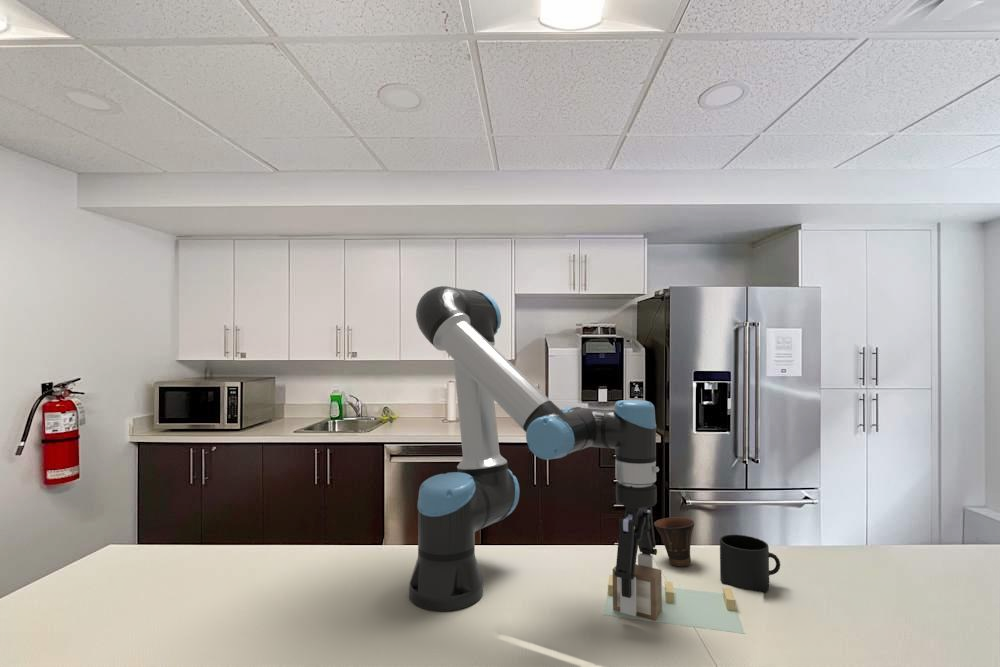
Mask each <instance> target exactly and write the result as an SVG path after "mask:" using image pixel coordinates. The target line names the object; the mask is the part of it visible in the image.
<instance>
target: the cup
mask: <svg viewBox="0 0 1000 667" xmlns="http://www.w3.org/2000/svg"><path fill="white" fill-rule="evenodd" d="M653 526H654V527H655V529H656V530H657V532H658V533H659V537H660V538H661V540H662V543H663V545H664V548H665V551H666V553H667V556H668V562H669V564H670V565H671V566H673V567H674V566H675V567H687V566H689V565H691V564H692V560H691V543H692V535H693V530H694V526H695V521H694V520H693V519H691V518H687V517H680V516H677V517H675V516H674V517H665V518H661V519H658V520H656V521H654V522H653Z"/></svg>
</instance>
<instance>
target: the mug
mask: <svg viewBox="0 0 1000 667" xmlns="http://www.w3.org/2000/svg"><path fill="white" fill-rule="evenodd" d="M770 558H771V559H774V560H773V561H775V567H774V568H773V569H771V570H770V560H769V559H770ZM780 568H781V562H780V559H779V558H778V556H777V555H776V554H775V553H772V552H769V545H768V543H767V542H766V541H764V540H762V539H759V538H757V537H753V536H749V535H745V534H726V535H723V536H721V537H720V538H719V572H720V574H719V576H720V582H721V584H722V585H726V586H729V587H733V588H736V589H738V590H739V589H740V590H744V591H751V592H752V591H754V592H758V593H763V594H766V593H768V591H769V590H770V576H773V575H775V574H777V573H778V572H779V570H780Z"/></svg>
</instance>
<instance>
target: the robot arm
mask: <svg viewBox="0 0 1000 667" xmlns="http://www.w3.org/2000/svg"><path fill="white" fill-rule="evenodd" d="M501 314H502V313H501V310H500V307H499V305H498V302H496V301H495V299H494V298H492V297H491V296H490V295H489V294H486V293H484V292H481V291H479V290H474V289H471V290H469V289H463V288H457V287H452V286H447V285H445V286H442V285H441V286H437V287H433V288H431V289H429V290H428V291H427V292H425V293H424V294H423V295H422V296H421V297H420V298H419V301H418V303H417V305H416V311H415V319H416V323H417V325H418V328H419V331H421V332H420V333H422V335H423V336H424V337H425V339H427V341H428V342H429V343H430V344H431V345H432V346H433V347H434V348H435V349H436V350H438V351H441V352H442V351H445V352H446V353H447V354H448V355H449V356H450V357H451V358H452V359H453V365H454V366H453V367H454V377H455V378H454V379H455V388H456V399H457V409H458V419H459V430H460V440H461V450H462V451H461V453H462V459H461V460H460V462H459V463H458V465H457V466H456V469H457V472H456V471H451V472H446V473H440V474H435V475H432V476H431V477H427V479H425V480H424V481H423V482H422V483H421V485H420V486H419V490H418V499H417V504H416V506H417V559H416V561H415V565H414V568H413V572H412V575H411V578H410V581H409V585H408V586H409V588H408V589H409V591H408V597H409V600H410V601H411V602H412V604H414V605H415V606H417V607H419V608H422V609H425V610H428V611H439V612H442V611H443V612H445V611H447V612H448V611H449V612H450V611H455V610H460V609H464V608H467V607H470V606H472V605H474V604H475V603H477V602H479V600H480V599H481V598H482V597H483V594H484V580H483V576H482V574H481V571H480V570H481V569H480V567H479V563H478V561H477V558H476V553H475V552H476V551H475V550H476V549H475V543H476V541H475V540H476V539H475V536H476V535H475V534H476V532H478V531H480V530H482V529H484V528H487V527H488V526H490V525H493V524H494V523H499V522H501V521H502V520H504V519H505V518H506V517H508V516H509V515H510V514H512V513H513V512H514V510H515V509H516V508H517V505H518V503H519V501H520V483H519V482H518V478H517V477H516V475H514V474H513V471H511V470H510V469H509V467H508V460H507V459H506V458H504V457H503V456H502V455H501V452H500V445H499V444H500V443H499V434H498V425H497V424H498V423H497V412H496V405H495V404H496V403H497V405H499V406H500V408H501V409H502V410H504V412H506V414H508V415H509V417H511V419H513V420H514V421H515V423H516V424H518V426H519V427H521V429H522V430H523V431H524V432H525V439H526V440H525V441H526V443H527V446H528V449H529V450H530V452H531V453H532V454H533V456H535V457H537V458H539V459H541V460H546V461H548V460H549V461H550V460H554V459H562V458H564V457H566V456H567V455H569V454H572V453H575V452H578V451H581V450H584V449H587V448H591V447H594V448H601V449H602V448H605V449H614V450H615V463H614V464H615V472H614V474H615V479H616V483H615V500H616V502H617V503H618V504H619V505H621V506H623V507H624V508H625V511H624V513H623V515H622V516H623V517H620V518H619V519H618V539H617V540H618V542H617V551H616V552H617V553H616V564H615V566H616V572H615V576H616V577H620V612H621V613H625V614H629V615H633V616H636V577H634V572H635V565H636V563H637V565H641V566H646V567H651V568H654V566H653V564H654V562H653V556H657V553H658V550H657V548H656V546H657V545H656V540H655V539H656V538H655V529H654V527H655V526H654V522H653V521H654V520H653V519H654V518H653V507H655V506H656V505H657V503H658V499H657V497H658V495H657V494H658V492H657V490H658V489H657V487H658V486H657V485H656V484H655V483H656V481H657V473H658V472H659V471H660V468H659V466H656V465H657V423H656V409H655V405H654V404H653V403H652V402H651V401H648V400H643V399H642V400H640V399H623V400H617V401H616V402H615V404H614V408H613V409H598V408H588V407H587V408H586V407H580V406H576V407H564V408H562V409H560V408H559V407H558V406H557V405H556V404H555V403H554V402H553V401H552V400H550V398H548V396H547V395H546V394H545V393H543V391H541V390H540V389H539V388H538V387H537V386H536V385H535V384H534V383H532V381H531V380H529V378H528V377H526V375H524V374H523V373H522V372H521V371H520V370H519V369H518V368H517V367H516V366H515V365H513V363H511V361H509V359H508V358H506V357H505V355H503V354H502V353H501V351H499V350H498V349H497V348H495V347H494V346H495V344H496V343H495V341H496V340H495V335H496V334H497V333H498V330H499V329H500V327H501V323H502V315H501ZM495 402H496V403H495ZM638 550H639V553H638Z"/></svg>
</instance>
